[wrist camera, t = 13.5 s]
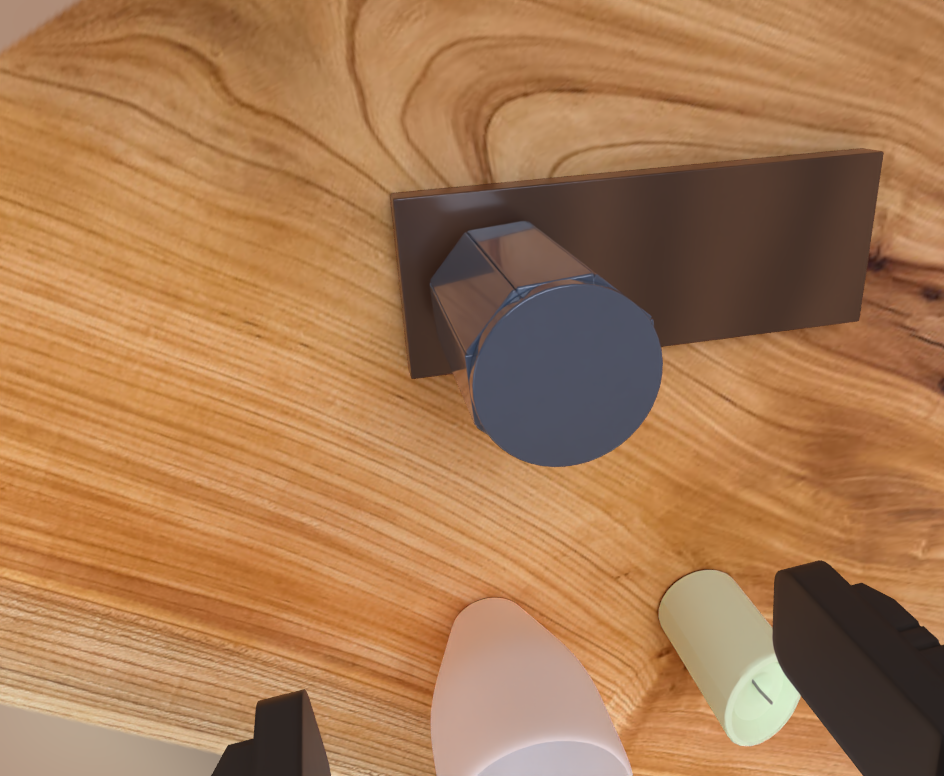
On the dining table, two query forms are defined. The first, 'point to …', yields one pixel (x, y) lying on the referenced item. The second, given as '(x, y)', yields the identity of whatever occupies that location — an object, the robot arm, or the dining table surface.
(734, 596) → the candle
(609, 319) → the cup
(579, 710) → the mug
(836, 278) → the cup stand
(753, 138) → the dining table surface
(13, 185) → the dining table surface
